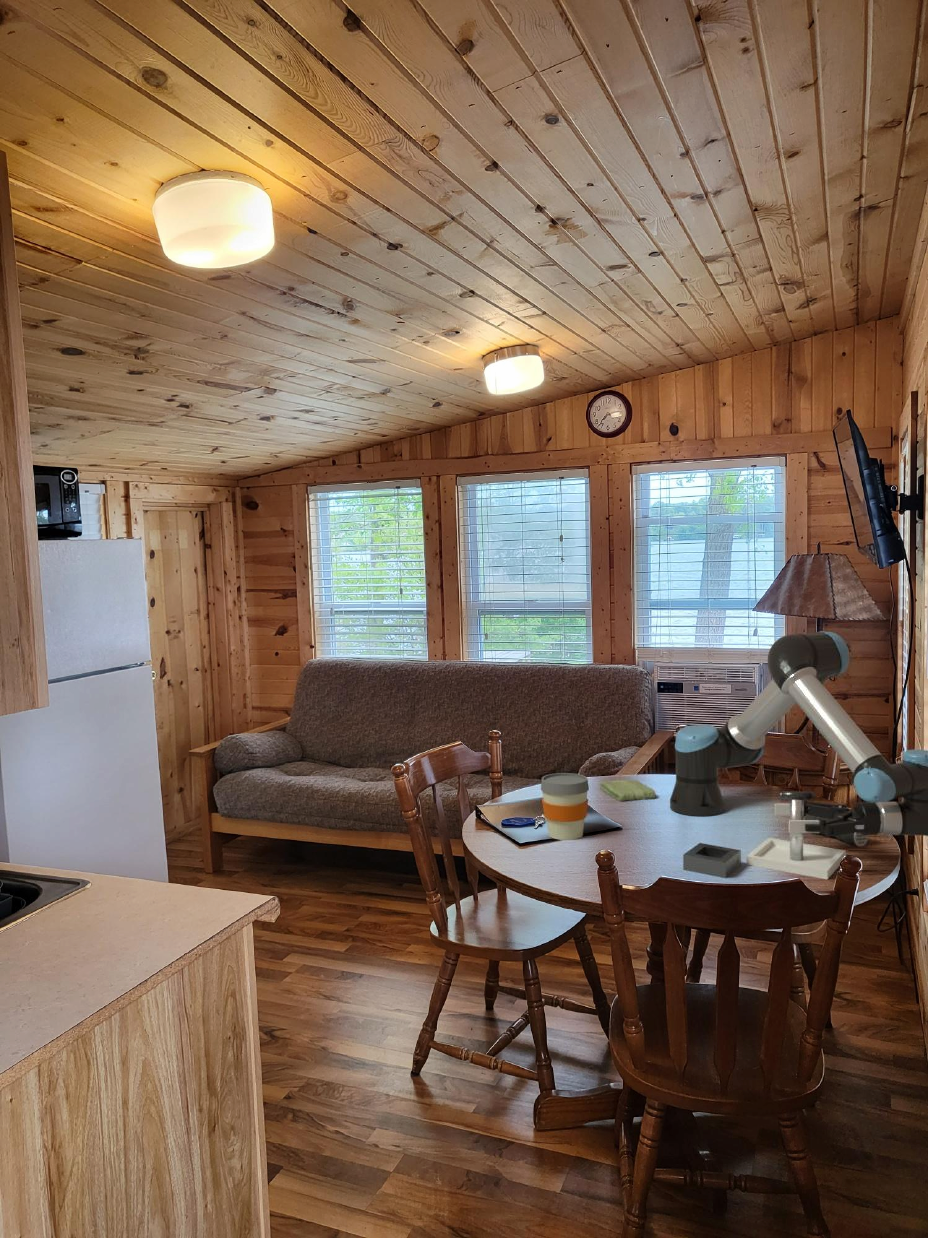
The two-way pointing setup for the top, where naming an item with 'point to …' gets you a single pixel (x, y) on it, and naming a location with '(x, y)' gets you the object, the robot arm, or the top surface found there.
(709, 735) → the robot arm
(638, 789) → the washcloth
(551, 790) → the reusable coffee cup
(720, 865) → the chuck socket block
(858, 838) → the flashlight
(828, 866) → the tray
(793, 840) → the chuck key
